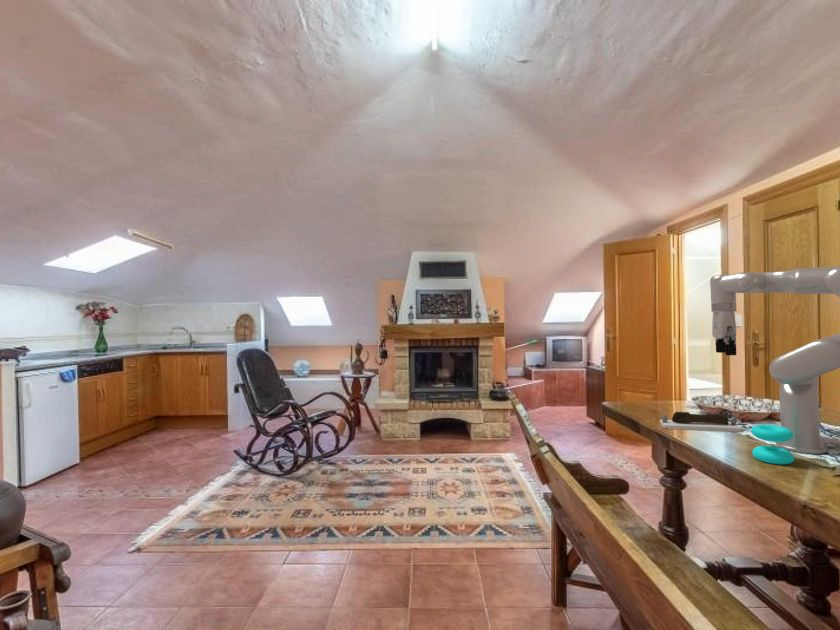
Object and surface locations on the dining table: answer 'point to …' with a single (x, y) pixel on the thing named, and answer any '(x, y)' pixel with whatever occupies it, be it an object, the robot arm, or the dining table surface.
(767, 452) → the donuts
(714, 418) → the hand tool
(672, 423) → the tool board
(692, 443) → the dining table surface
